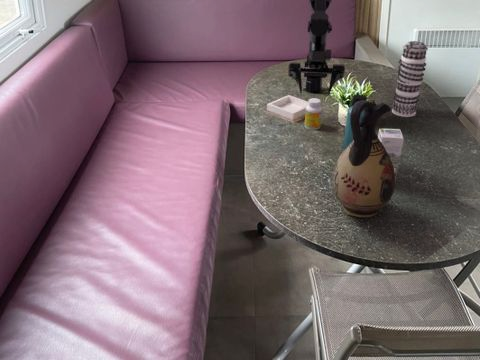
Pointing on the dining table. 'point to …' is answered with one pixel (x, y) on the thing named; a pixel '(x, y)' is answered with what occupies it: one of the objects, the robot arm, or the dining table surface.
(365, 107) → the ceramic jug
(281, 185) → the dining table surface
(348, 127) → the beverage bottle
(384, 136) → the syrup box
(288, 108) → the dish
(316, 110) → the supplement bottle
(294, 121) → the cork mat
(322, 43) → the robot arm
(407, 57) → the white banded cylinder
